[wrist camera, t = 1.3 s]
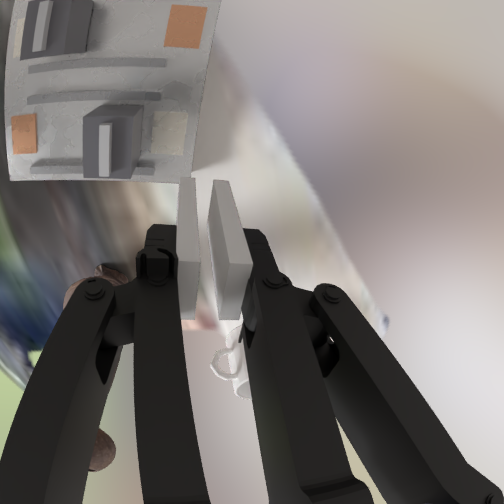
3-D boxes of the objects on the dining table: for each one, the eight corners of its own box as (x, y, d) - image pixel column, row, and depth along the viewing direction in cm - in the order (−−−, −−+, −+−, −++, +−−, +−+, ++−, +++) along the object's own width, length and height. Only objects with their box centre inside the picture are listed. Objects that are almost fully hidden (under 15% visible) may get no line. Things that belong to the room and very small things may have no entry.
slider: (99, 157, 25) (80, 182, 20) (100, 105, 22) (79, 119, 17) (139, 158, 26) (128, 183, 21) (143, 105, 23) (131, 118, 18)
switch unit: (22, 169, 26) (6, 185, 23) (30, -4, 14) (11, -7, 11) (189, 172, 31) (190, 188, 28) (222, -13, 20) (227, -23, 16)
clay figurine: (82, 232, 32) (22, 437, 13) (157, 258, 37) (153, 466, 17) (69, 301, 38) (37, 466, 19) (130, 320, 42) (125, 486, 23)
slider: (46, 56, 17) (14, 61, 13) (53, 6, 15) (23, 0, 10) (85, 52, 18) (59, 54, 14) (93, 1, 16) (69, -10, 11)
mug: (216, 312, 44) (225, 368, 37) (282, 327, 50) (298, 377, 42) (196, 342, 48) (201, 395, 40) (257, 354, 53) (269, 401, 46)
